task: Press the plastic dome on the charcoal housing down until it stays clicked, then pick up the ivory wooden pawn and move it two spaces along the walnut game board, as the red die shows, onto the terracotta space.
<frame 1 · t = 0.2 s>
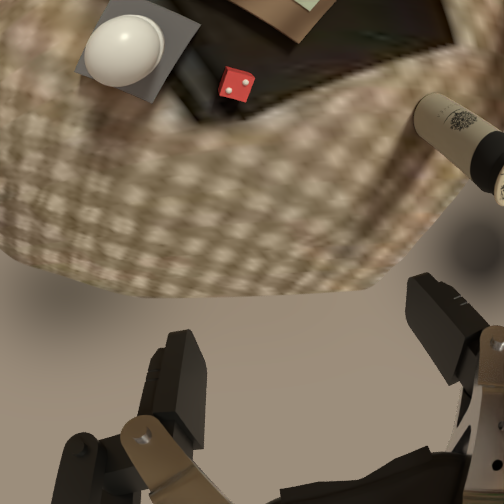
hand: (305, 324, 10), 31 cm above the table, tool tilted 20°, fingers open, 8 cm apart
red die: (234, 81, 31), on the table
dome housing: (138, 43, 26), on the table
dome: (122, 50, 20), point 8 cm above the table, slide at 0.0 cm
travel mug: (431, 115, 37), on the table
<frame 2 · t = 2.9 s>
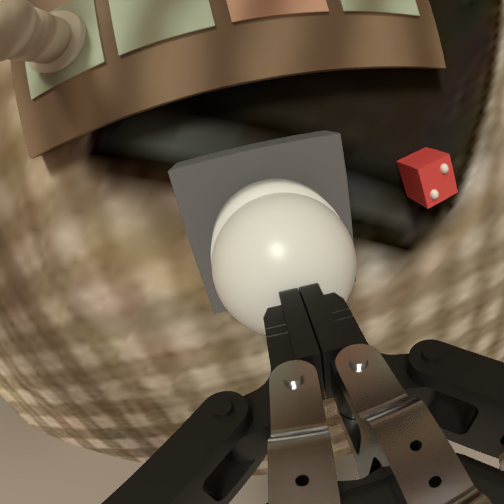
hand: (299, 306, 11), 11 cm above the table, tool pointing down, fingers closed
red die: (416, 171, 20), on the table
dome housing: (266, 214, 21), on the table
dome: (284, 264, 15), point 7 cm above the table, slide at 0.6 cm, touching gripper
pawn: (58, 42, 13), point 2 cm above the table, touching game board
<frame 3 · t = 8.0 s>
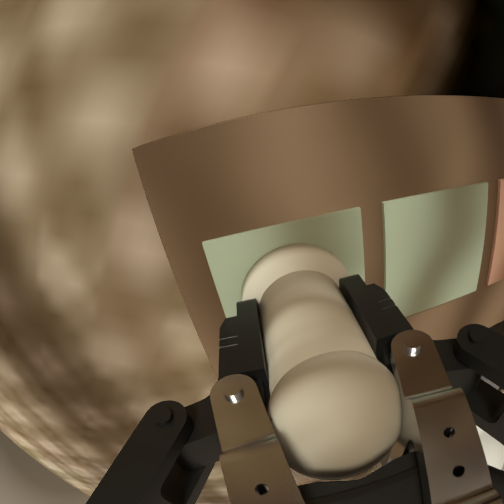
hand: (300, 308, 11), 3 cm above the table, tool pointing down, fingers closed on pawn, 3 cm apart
dome: (464, 463, 14), point 7 cm above the table, slide at 1.0 cm
pawn: (296, 293, 12), point 2 cm above the table, touching game board, gripper
game board: (471, 226, 13), on the table
when the fingers open (4 cm above the table, at t = 14.0 s): pawn drops 1 cm, resting on game board.
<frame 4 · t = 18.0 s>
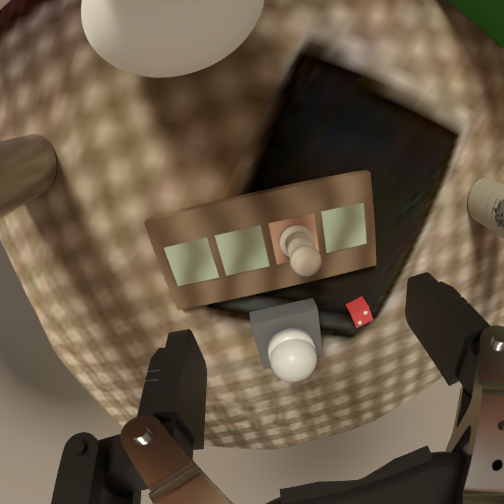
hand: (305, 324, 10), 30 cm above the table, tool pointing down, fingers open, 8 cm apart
red die: (356, 306, 48), on the table
dome housing: (286, 329, 49), on the table
dome: (293, 359, 43), point 7 cm above the table, slide at 1.0 cm
travel mug: (480, 198, 41), on the table
hardback book: (470, 3, 26), on the table
pawn: (295, 239, 40), point 2 cm above the table, touching game board
game board: (267, 240, 42), on the table
decorative vase: (184, 21, 29), on the table
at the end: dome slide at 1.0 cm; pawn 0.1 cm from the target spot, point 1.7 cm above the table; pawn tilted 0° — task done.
